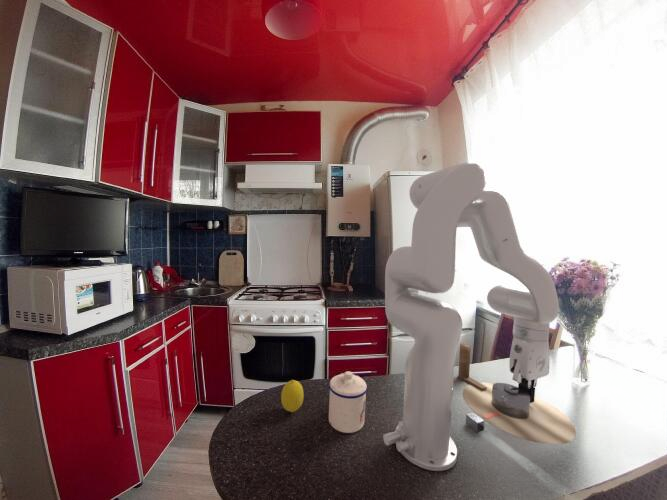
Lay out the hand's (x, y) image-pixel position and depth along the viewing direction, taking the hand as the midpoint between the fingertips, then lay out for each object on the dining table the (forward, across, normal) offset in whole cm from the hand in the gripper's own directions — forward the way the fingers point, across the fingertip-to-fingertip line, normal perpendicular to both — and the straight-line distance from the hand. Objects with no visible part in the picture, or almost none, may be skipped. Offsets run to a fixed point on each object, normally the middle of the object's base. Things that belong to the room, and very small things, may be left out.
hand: (525, 399), depth 68 cm
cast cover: (+1, -6, 0) cm, 7 cm away
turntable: (+2, -5, +2) cm, 6 cm away
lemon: (+3, -59, +20) cm, 63 cm away
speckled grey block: (+3, -20, 0) cm, 20 cm away
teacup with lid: (+3, -47, +14) cm, 49 cm away
